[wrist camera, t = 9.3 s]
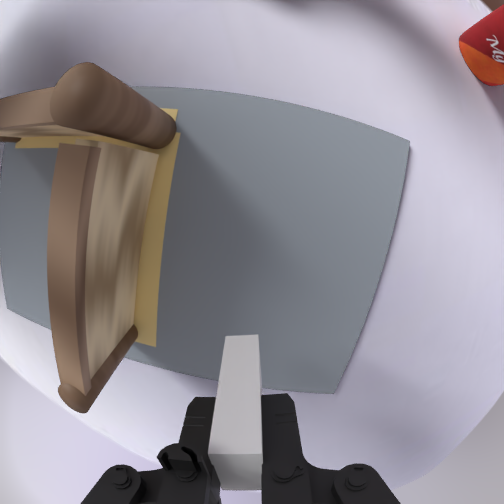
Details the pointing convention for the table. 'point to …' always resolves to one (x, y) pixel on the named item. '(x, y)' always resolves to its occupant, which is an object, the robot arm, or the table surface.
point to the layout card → (234, 234)
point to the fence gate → (95, 261)
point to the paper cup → (485, 48)
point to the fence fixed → (86, 111)
